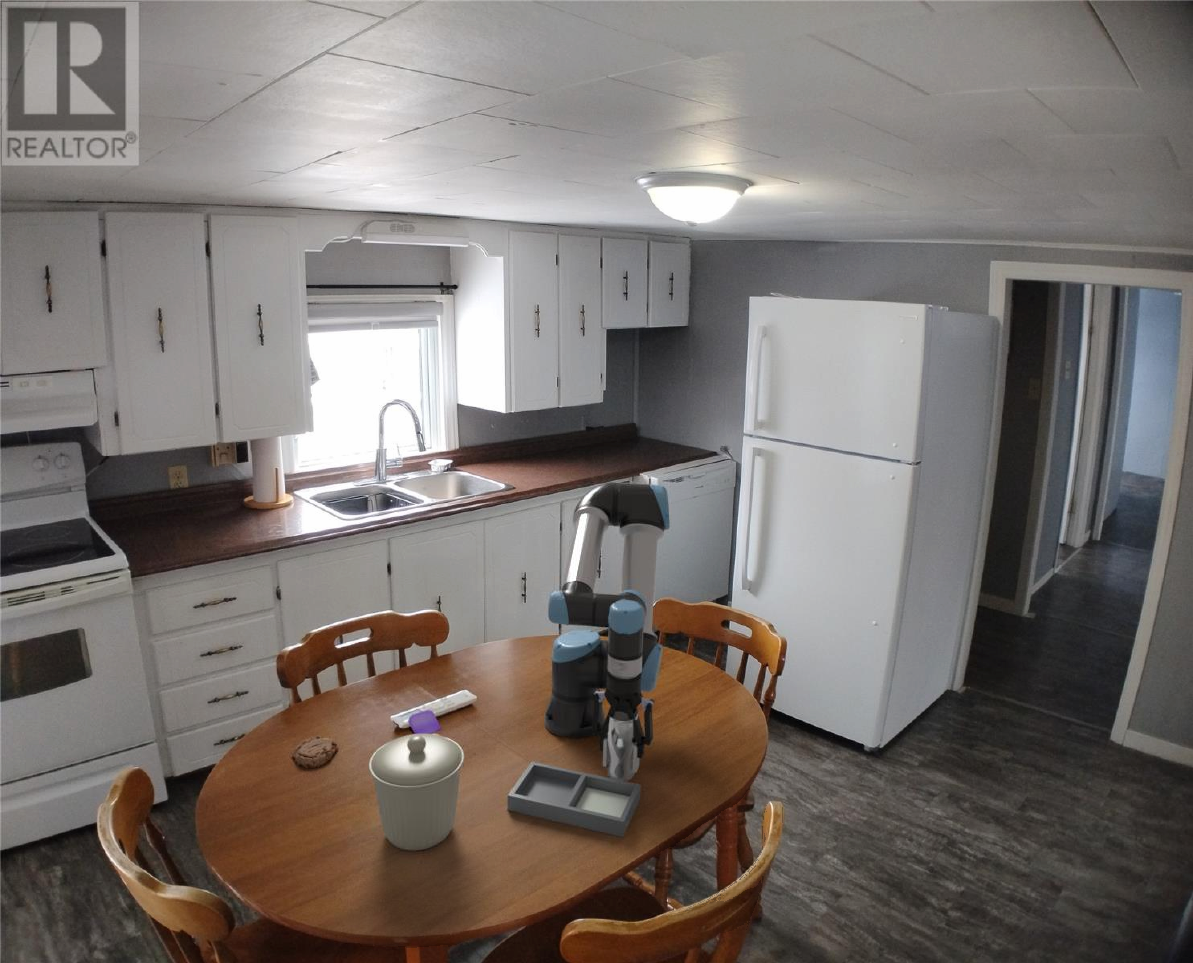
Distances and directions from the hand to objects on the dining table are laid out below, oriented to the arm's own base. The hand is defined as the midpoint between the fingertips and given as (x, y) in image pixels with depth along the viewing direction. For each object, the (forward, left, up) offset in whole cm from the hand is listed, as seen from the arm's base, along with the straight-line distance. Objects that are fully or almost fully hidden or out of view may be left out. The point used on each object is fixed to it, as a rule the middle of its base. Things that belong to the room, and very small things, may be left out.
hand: (620, 765), depth 180 cm
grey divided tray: (-6, -14, -2) cm, 15 cm away
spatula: (-45, -3, -3) cm, 45 cm away
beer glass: (0, 0, -2) cm, 2 cm away
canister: (-32, -33, -2) cm, 46 cm away
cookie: (-68, -17, -3) cm, 70 cm away
